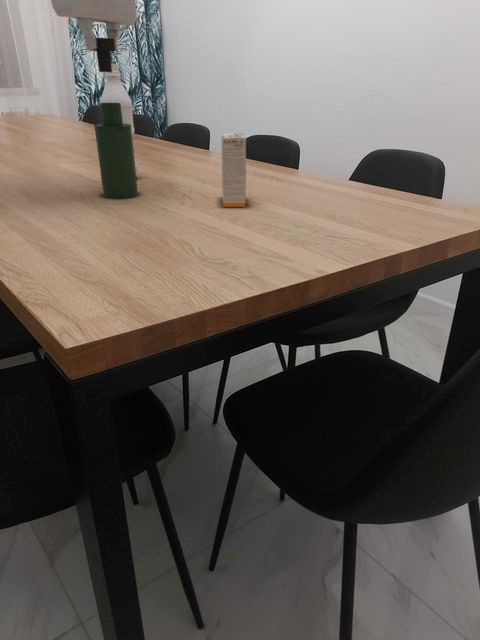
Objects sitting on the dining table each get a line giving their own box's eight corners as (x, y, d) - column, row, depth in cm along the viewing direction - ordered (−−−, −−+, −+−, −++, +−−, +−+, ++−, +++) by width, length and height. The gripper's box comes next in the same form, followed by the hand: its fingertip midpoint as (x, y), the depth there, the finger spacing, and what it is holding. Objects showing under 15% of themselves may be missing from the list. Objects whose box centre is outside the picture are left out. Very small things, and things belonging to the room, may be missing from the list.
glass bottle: (112, 200, 105) (100, 104, 96) (98, 193, 110) (85, 102, 101) (143, 195, 109) (134, 103, 100) (128, 190, 114) (119, 101, 105)
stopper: (99, 71, 94) (94, 37, 91) (89, 71, 97) (85, 38, 94) (121, 72, 97) (118, 38, 94) (111, 72, 100) (108, 39, 97)
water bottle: (139, 175, 130) (128, 64, 117) (138, 180, 123) (127, 64, 111) (111, 176, 128) (97, 63, 116) (108, 181, 122) (93, 63, 110)
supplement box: (246, 207, 101) (246, 137, 95) (222, 207, 101) (221, 137, 95) (244, 198, 109) (244, 132, 102) (222, 198, 108) (221, 132, 102)
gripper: (112, -31, 98) (121, 52, 105) (35, -52, 81) (51, 47, 88) (140, -32, 96) (147, 52, 103) (67, -55, 79) (81, 47, 86)
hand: (102, 50), depth 95 cm, fingers closed on stopper, 4 cm apart
